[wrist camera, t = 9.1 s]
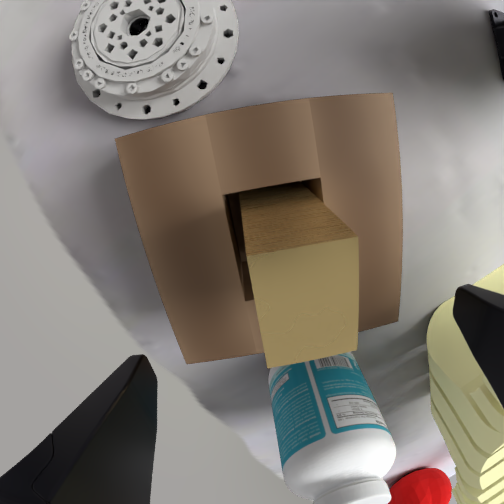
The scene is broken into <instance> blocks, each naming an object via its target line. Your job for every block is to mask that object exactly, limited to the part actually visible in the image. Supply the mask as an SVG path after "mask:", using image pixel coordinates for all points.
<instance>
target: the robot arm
mask: <svg viewBox="0 0 504 504" xmlns="http://www.w3.org/2000/svg"><path fill="white" fill-rule="evenodd" d="M489 15H490V19H491V22H492V26H493V30H494V34H495V39H496V43H497V48H498V53H499V58H500V63H501V69H502V75H503V79H504V13H502V12H500V11H497V10H494V9H493V10H490V11H489ZM453 317H454V319H455V321H456V323H457V325H458V327H459V329H460V331H461V333H462V335H463V337H464V339H465V341H466V343H467V345H468V347H469V349H470V351H471V353H472V354H473V356H474V358H475V360H476V362H477V363H478V365H479V366H480V368H481V370H482V371H483V373H484V375H485V377H486V378H487V380H488V382H489V383H490V385H491V387H492V389H493V390H494V392H495V394H496V396H497V398H498V399H499V401H500V403H501V405H502V407H503V409H504V295H503V294H500V293H497V292H493V291H490V290H487V289H484V288H480V287H477V286H474V285H470V284H466V285H463V286H460V287H458V288H457V290H456V293H455V299H454V305H453ZM156 433H157V377H156V375H155V373H154V371H153V369H152V367H151V364H150V363H149V361H148V358H147V357H146V356H145V355H143V354H141V355H132V356H130V357H129V358H128V359H127V360H126V361H125V362H124V363H123V364H121V365H120V366H119V367H118V368H117V369H116V370H115V371H114V372H113V373H112V374H111V375H110V376H109V377H108V378H107V379H106V380H105V381H104V382H103V383H102V384H101V385H100V386H99V387H98V388H97V389H96V390H95V391H94V392H92V393H91V394H90V395H89V396H88V397H87V398H86V399H85V400H84V401H83V402H82V403H81V404H80V405H79V406H78V407H77V408H76V409H75V410H74V411H73V412H72V413H71V414H70V415H69V416H68V417H67V418H66V419H65V420H64V421H63V422H61V424H60V425H58V426H57V427H56V428H55V429H54V431H53V432H52V433H51V434H49V435H48V436H47V437H46V438H45V439H44V440H43V441H42V442H41V443H40V444H39V445H38V446H37V447H36V448H35V449H33V451H31V452H30V453H29V454H28V455H27V456H26V457H24V458H23V459H22V460H21V461H20V462H18V463H17V464H16V465H15V466H14V467H12V468H11V469H10V470H9V471H7V472H6V473H5V474H4V475H2V476H1V477H0V504H150V494H151V482H152V472H153V461H154V452H155V442H156Z"/></svg>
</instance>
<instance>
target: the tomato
mask: <svg viewBox="0 0 504 504" xmlns="http://www.w3.org/2000/svg"><path fill="white" fill-rule="evenodd" d="M389 491H390V494H391V500H390V502H389V503H388V504H448V503H449V501H450V498H451V491H452V487H451V483H450V480H449V478H448V477H447V475H446V474H445V473H444V472H443V471H441V470H439V469H436V468H425V469H422V470H418V471H414V472H412V473H410V474H408V475H406V476H404V477H402V478H401V479H400V480H399V481H397V482H396V483H395V484H394V485H393V486H392V487H391V488H390V490H389Z"/></svg>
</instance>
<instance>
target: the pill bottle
mask: <svg viewBox="0 0 504 504" xmlns="http://www.w3.org/2000/svg"><path fill="white" fill-rule="evenodd" d="M268 384H269V391H270V398H271V404H272V410H273V416H274V422H275V428H276V434H277V440H278V446H279V452H280V458H281V464H282V471H283V476H284V481H285V483H286V485H287V487H288V489H289V490H290V491H291V492H292V493H294V494H295V495H297V496H299V497H301V498H305V499H309V500H314V501H313V504H388V503H389V502H390V500H391V494H390V491H389V488H388V486H387V483H386V482H385V481H384V480H383V479H381V478H382V477H383V476H384V475H385V474H386V473H387V472H388V471H389V469H390V468H391V467H392V465H393V463H394V460H395V457H396V447H395V444H394V441H393V439H392V436H391V434H390V432H389V430H388V427H387V425H386V423H385V421H384V419H383V416H382V414H381V412H380V410H379V408H378V406H377V403H376V401H375V399H374V397H373V395H372V393H371V391H370V388H369V386H368V384H367V382H366V380H365V378H364V376H363V374H362V372H361V370H360V368H359V366H358V364H357V362H356V360H355V358H354V356H353V354H352V353H351V352H347V353H342V354H338V355H334V356H329V357H325V358H320V359H315V360H310V361H306V362H301V363H295V364H290V365H285V366H279V367H273V368H271V369H270V372H269V377H268Z"/></svg>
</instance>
